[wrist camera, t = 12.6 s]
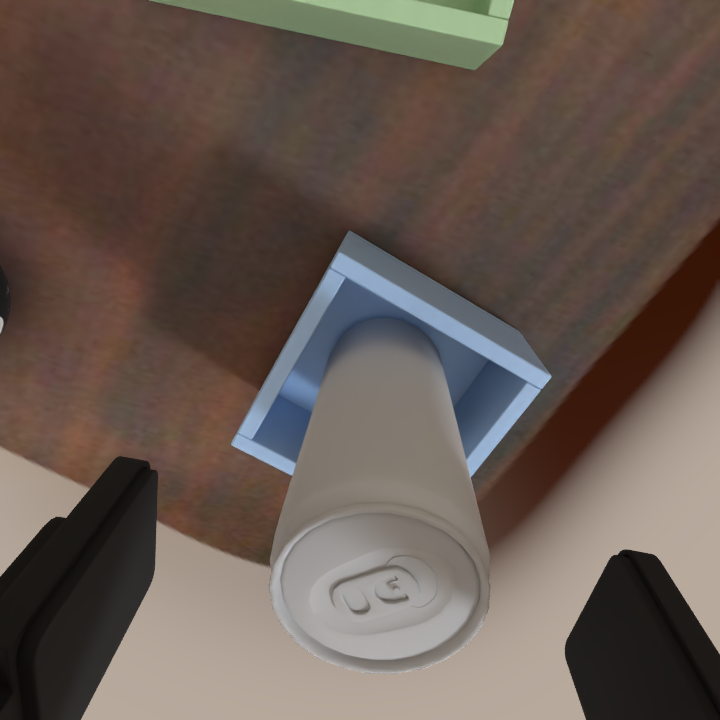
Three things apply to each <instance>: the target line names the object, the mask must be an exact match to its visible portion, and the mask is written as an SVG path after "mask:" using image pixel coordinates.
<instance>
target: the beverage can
mask: <svg viewBox="0 0 720 720" xmlns="http://www.w3.org/2000/svg"><path fill="white" fill-rule="evenodd" d="M270 565H271V577H270V583H269V590H270V596H271V602H272V607H273V610H274V612H275V614H276V616H277V617H278V620H279V622H280V624H281V625H282V627H283V629H284V630H285V631H286V632H287V633H288V634H289V635H290V636H291V637H292V638H293V639H294V641H295V642H296V643H297V644H298V645H300V646H301V647H303V648H304V649H305V650H307V651H309V652H310V653H311V654H313V655H314V656H316V657H317V658H319V659H321V660H324V661H326V662H329V663H331V664H334V665H336V666H339V667H341V668H345V669H350V670H354V671H359V672H365V673H373V674H397V673H403V672H409V671H414V670H421V669H424V668H426V667H429V666H431V665H434V664H436V663H439V662H442V661H444V660H446V659H448V658H449V657H451V656H452V655H453V654H455V653H456V652H458V651H459V650H461V649H462V648H463V647H465V646H466V645H467V644H468V643H469V642H470V640H471V639H472V638H473V637H474V635H476V633H477V632H478V631H479V630H480V628H481V626H482V623H483V621H484V619H485V616H486V614H487V612H488V609H489V598H490V583H489V576H490V555H489V550H488V547H487V543H486V538H485V534H484V530H483V526H482V522H481V518H480V514H479V510H478V506H477V502H476V498H475V494H474V490H473V486H472V482H471V478H470V474H469V470H468V466H467V462H466V457H465V453H464V449H463V445H462V441H461V437H460V433H459V429H458V425H457V421H456V417H455V413H454V409H453V405H452V401H451V397H450V393H449V389H448V385H447V381H446V377H445V373H444V369H443V365H442V361H441V358H440V354H439V351H438V349H437V348H436V346H435V345H434V343H433V341H432V340H431V338H430V337H428V336H427V335H426V334H425V333H424V332H423V331H422V330H421V329H420V328H418V327H416V326H414V325H412V324H410V323H408V322H406V321H402V320H398V319H393V318H373V319H370V320H367V321H364V322H360V323H358V324H357V325H355V326H354V327H352V328H351V329H350V330H348V331H347V332H346V333H345V334H344V335H343V336H342V337H341V338H340V339H339V341H338V342H337V343H336V344H335V346H334V348H333V349H332V351H331V353H330V355H329V357H328V361H327V364H326V367H325V371H324V374H323V378H322V381H321V384H320V388H319V391H318V395H317V398H316V401H315V405H314V408H313V411H312V415H311V418H310V421H309V424H308V428H307V431H306V434H305V437H304V440H303V444H302V447H301V450H300V453H299V456H298V459H297V463H296V466H295V469H294V472H293V475H292V479H291V482H290V485H289V488H288V492H287V495H286V498H285V502H284V505H283V508H282V512H281V515H280V518H279V522H278V525H277V529H276V532H275V537H274V542H273V547H272V552H271V557H270Z"/></svg>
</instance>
